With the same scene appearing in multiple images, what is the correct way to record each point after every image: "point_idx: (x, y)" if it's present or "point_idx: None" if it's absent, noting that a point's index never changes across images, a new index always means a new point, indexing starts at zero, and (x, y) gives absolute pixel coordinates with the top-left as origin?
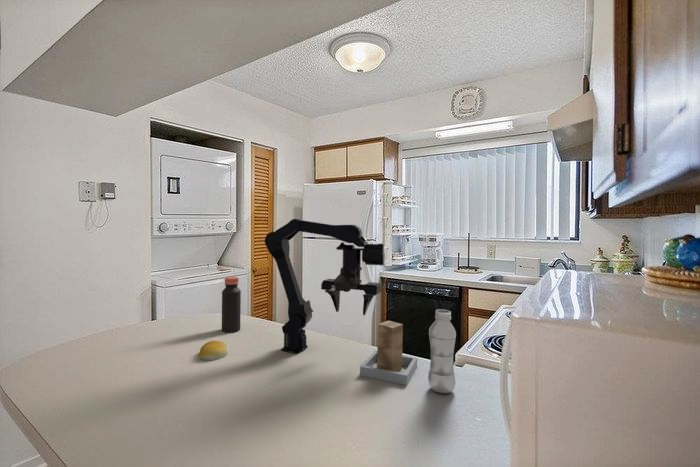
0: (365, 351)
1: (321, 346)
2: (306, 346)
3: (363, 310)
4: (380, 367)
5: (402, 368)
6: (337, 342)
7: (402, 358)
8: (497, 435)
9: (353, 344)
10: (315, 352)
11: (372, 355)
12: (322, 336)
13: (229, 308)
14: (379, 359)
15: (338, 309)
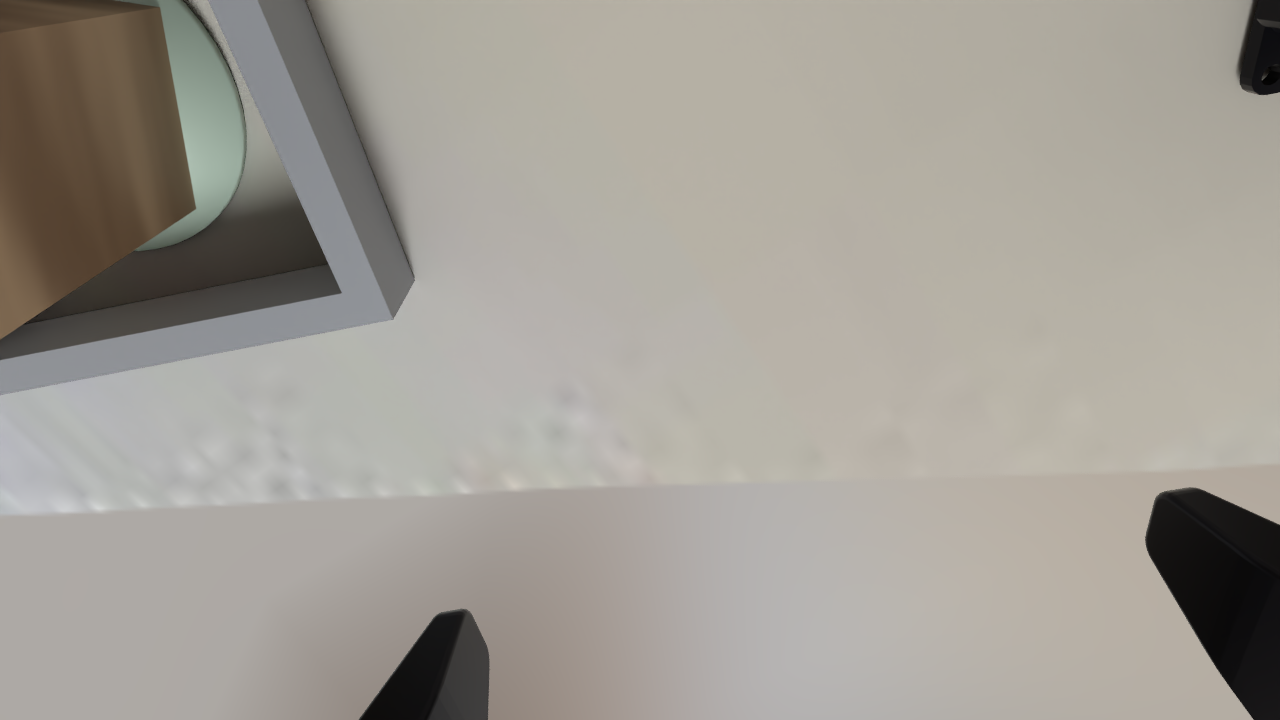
0: (601, 369)
1: (1079, 214)
2: (1258, 56)
3: (414, 708)
4: (78, 1)
5: None
6: (960, 394)
7: (78, 337)
8: None
9: (793, 438)
10: (1079, 14)
11: (308, 172)
12: (1170, 431)
13: None
14: (29, 12)
15: (1178, 575)
